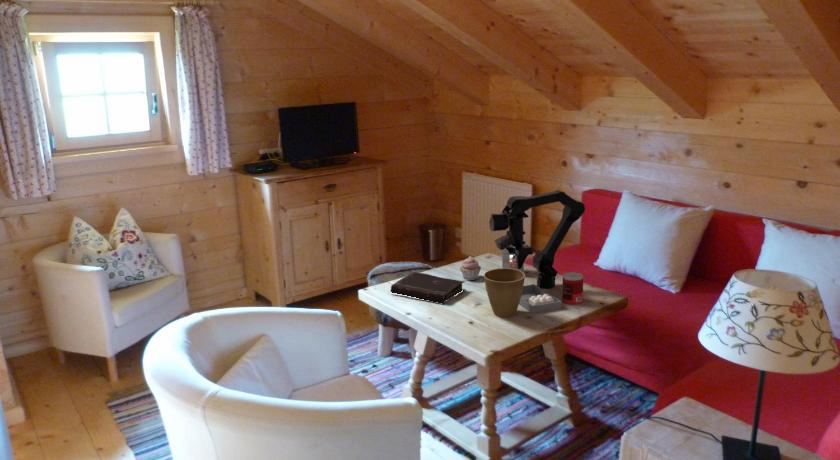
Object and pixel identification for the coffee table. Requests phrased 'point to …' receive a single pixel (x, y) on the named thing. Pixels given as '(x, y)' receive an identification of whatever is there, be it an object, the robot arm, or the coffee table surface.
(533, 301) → the egg carton
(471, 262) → the cupcake
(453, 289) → the diary
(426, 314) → the coffee table surface
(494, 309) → the plant pot
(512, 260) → the steel tin
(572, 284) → the canned food
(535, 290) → the tote
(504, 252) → the coffee box
